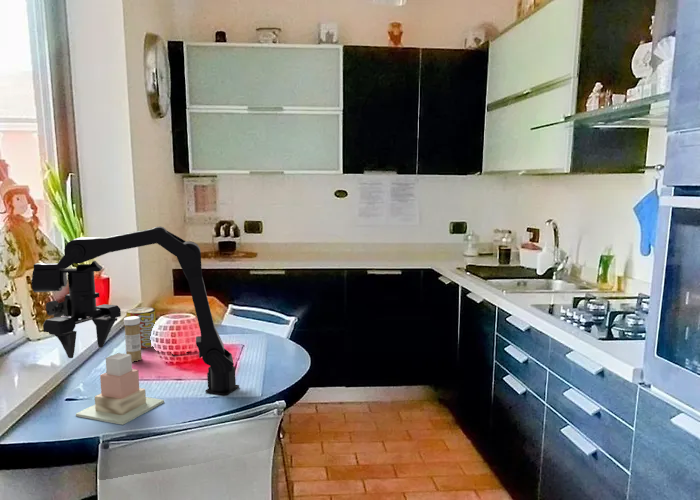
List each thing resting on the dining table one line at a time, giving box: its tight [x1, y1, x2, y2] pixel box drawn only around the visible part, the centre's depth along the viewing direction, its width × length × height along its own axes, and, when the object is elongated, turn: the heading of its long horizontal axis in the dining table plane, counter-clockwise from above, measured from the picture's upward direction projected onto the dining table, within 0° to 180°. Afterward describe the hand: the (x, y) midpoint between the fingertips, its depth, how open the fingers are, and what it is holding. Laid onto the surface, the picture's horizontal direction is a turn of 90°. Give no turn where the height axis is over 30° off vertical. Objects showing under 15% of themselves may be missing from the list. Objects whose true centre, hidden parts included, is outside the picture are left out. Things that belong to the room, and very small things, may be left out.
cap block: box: [105, 352, 133, 376], centre depth 135 cm, size 4×4×4 cm
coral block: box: [99, 368, 140, 399], centre depth 135 cm, size 6×6×5 cm
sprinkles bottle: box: [123, 316, 143, 363], centre depth 172 cm, size 5×5×13 cm
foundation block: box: [94, 387, 147, 415], centre depth 136 cm, size 8×8×4 cm
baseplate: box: [75, 396, 165, 426], centre depth 136 cm, size 14×14×1 cm
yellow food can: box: [125, 306, 157, 350], centre depth 189 cm, size 9×9×12 cm
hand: (86, 352), depth 138 cm, fingers open, 9 cm apart
